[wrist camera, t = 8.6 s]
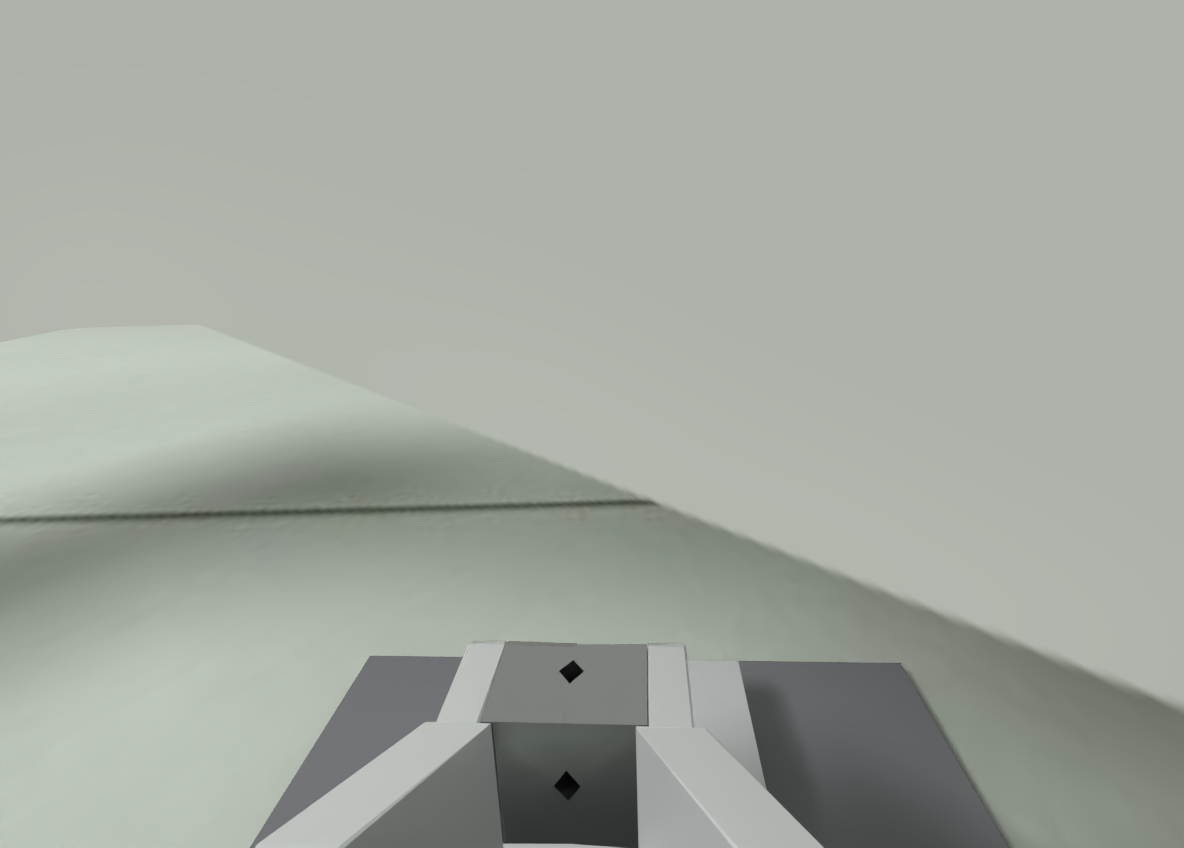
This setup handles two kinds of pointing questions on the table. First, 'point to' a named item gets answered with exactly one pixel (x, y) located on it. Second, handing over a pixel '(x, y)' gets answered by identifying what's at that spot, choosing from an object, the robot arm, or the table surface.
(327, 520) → the table surface
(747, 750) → the tile
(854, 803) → the mat
